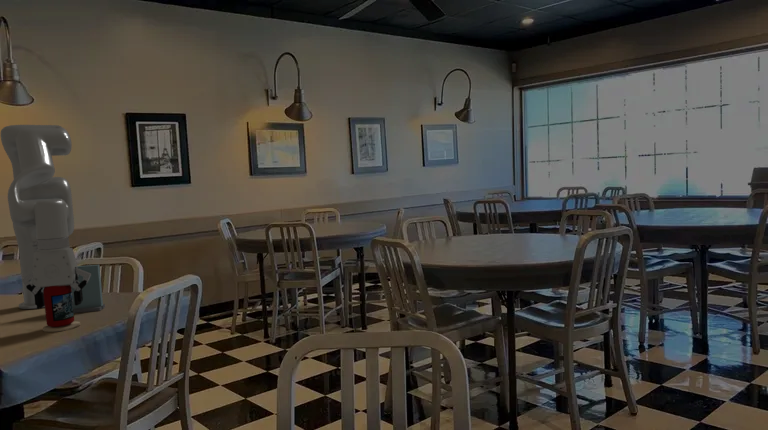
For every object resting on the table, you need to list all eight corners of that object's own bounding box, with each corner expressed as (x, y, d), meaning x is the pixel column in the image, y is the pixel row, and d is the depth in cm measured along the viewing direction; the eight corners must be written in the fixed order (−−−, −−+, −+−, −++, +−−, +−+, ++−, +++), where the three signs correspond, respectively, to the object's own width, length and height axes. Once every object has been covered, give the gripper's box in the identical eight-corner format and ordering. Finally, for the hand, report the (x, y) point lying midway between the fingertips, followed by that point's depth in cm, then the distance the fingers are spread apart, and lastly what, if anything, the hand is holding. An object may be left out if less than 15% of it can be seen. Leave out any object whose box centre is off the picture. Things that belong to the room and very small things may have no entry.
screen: (58, 311, 178) (53, 267, 177) (105, 307, 180) (101, 263, 179) (51, 314, 173) (46, 269, 172) (99, 310, 175) (95, 266, 174)
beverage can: (62, 328, 153) (58, 285, 152) (41, 328, 154) (36, 285, 153) (80, 321, 159) (76, 280, 158) (59, 321, 160) (55, 280, 159)
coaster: (51, 324, 160) (51, 322, 160) (85, 321, 162) (84, 319, 162) (37, 333, 151) (36, 331, 151) (72, 330, 153) (72, 328, 153)
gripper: (12, 248, 150) (19, 312, 151) (82, 243, 152) (88, 306, 154) (26, 245, 157) (32, 305, 158) (92, 240, 160) (97, 300, 161)
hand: (59, 305), depth 156 cm, fingers open, 9 cm apart
